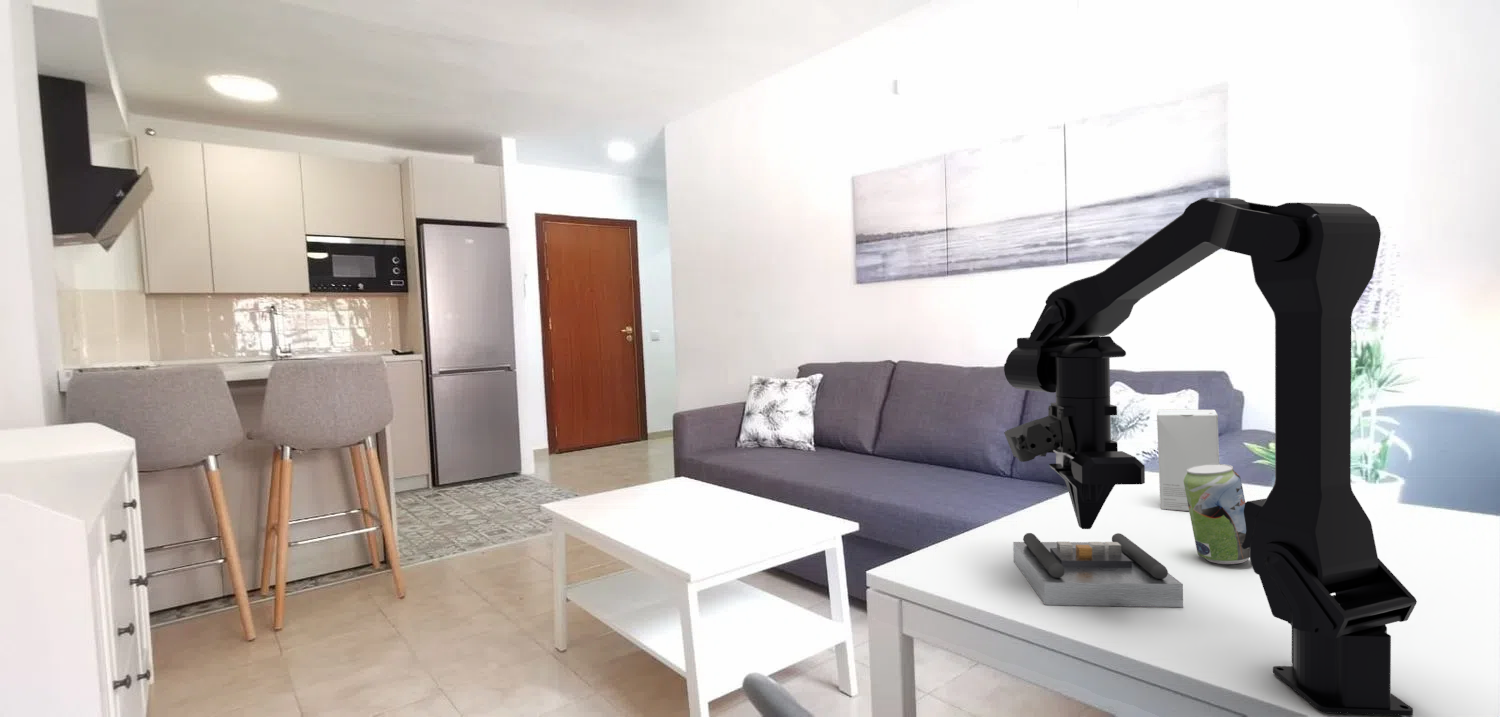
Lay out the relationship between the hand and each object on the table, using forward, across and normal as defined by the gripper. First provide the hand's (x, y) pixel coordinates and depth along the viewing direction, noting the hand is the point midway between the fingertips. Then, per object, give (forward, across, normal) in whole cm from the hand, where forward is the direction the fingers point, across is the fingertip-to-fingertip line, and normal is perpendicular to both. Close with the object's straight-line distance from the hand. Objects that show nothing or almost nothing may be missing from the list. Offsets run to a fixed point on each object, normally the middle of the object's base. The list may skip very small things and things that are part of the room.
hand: (1084, 528), depth 81 cm
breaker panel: (+6, 0, 0) cm, 6 cm away
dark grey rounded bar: (+4, 0, -5) cm, 6 cm away
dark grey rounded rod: (+4, 0, +6) cm, 7 cm away
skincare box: (+7, -33, +27) cm, 43 cm away
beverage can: (+7, -8, +18) cm, 21 cm away
